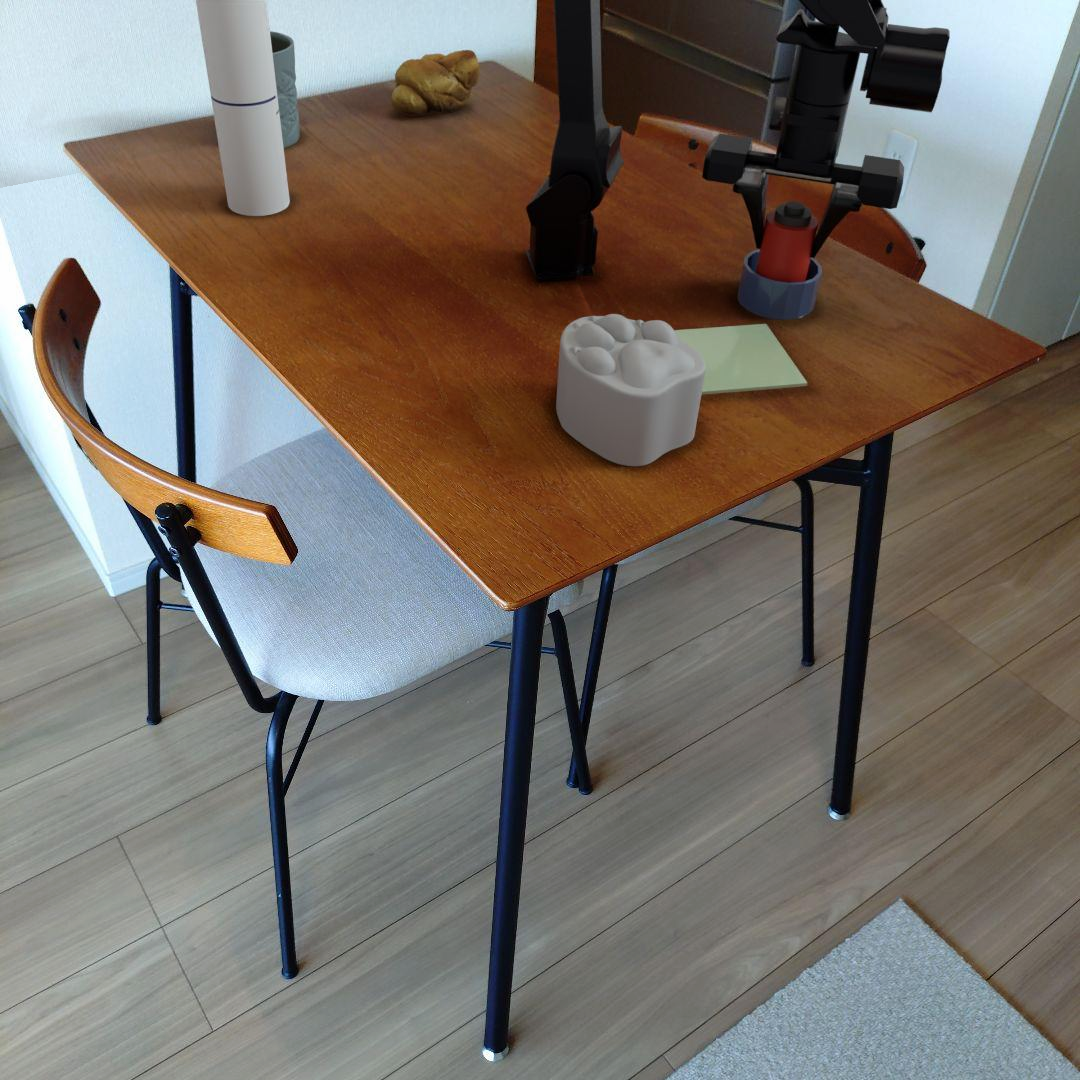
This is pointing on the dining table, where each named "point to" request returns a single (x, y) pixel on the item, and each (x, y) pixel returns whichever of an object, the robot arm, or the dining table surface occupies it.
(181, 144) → the dining table surface
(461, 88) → the bread roll
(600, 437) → the lumpy-topped squat cylinder
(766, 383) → the tile
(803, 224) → the bottle
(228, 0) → the cylindrical container
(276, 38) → the embossed grey-green pot
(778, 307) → the cup
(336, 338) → the dining table surface
